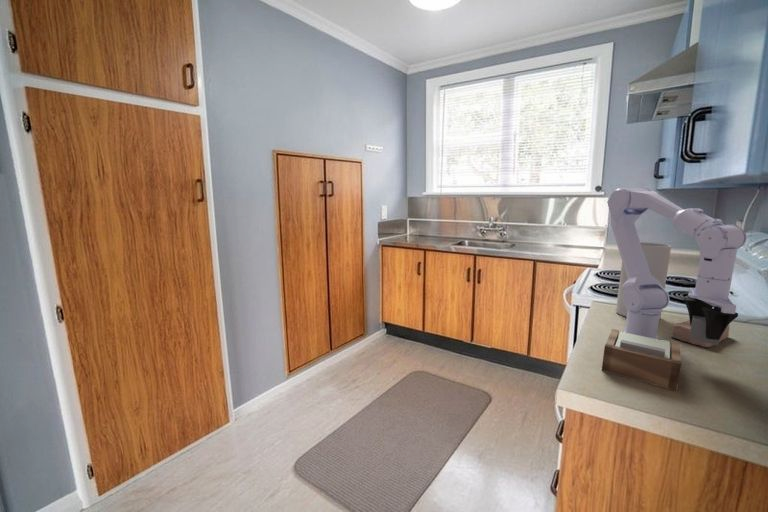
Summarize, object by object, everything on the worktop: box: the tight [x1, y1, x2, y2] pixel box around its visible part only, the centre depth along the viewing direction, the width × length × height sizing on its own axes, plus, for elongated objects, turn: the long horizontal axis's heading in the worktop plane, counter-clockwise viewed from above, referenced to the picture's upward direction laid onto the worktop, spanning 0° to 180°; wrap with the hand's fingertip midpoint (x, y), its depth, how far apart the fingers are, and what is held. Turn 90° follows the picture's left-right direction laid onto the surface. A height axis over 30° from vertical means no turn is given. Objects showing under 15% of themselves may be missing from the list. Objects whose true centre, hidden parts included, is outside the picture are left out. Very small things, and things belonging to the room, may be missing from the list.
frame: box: [601, 328, 682, 392], centre depth 81 cm, size 14×14×6 cm
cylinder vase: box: [615, 241, 672, 320], centre depth 117 cm, size 12×12×25 cm
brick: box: [671, 319, 730, 348], centre depth 100 cm, size 17×8×5 cm, turn 120°
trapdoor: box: [615, 331, 671, 359], centre depth 81 cm, size 12×10×2 cm
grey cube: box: [689, 315, 720, 346], centre depth 81 cm, size 4×5×5 cm
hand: (704, 333), depth 81 cm, fingers closed on grey cube, 6 cm apart
